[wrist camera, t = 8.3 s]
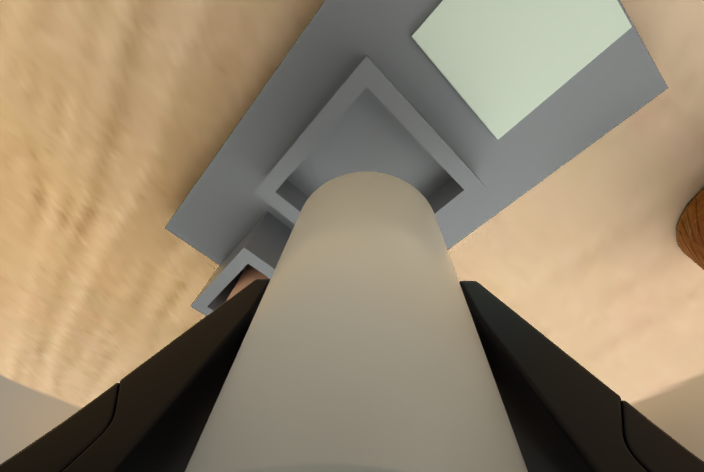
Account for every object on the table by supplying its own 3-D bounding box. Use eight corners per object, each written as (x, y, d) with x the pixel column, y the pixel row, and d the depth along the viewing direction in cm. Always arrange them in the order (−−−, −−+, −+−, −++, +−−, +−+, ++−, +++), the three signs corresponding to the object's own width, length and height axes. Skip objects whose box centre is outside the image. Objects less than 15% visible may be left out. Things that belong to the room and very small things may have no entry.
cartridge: (430, 293, 11) (527, 711, 4) (305, 291, 11) (196, 678, 4) (445, 170, 9) (721, 644, 2) (287, 172, 9) (3, 585, 2)
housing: (330, 321, 22) (320, 385, 18) (178, 215, 19) (121, 265, 14) (641, 84, 14) (760, 100, 10) (475, -199, 10) (549, -378, 6)
